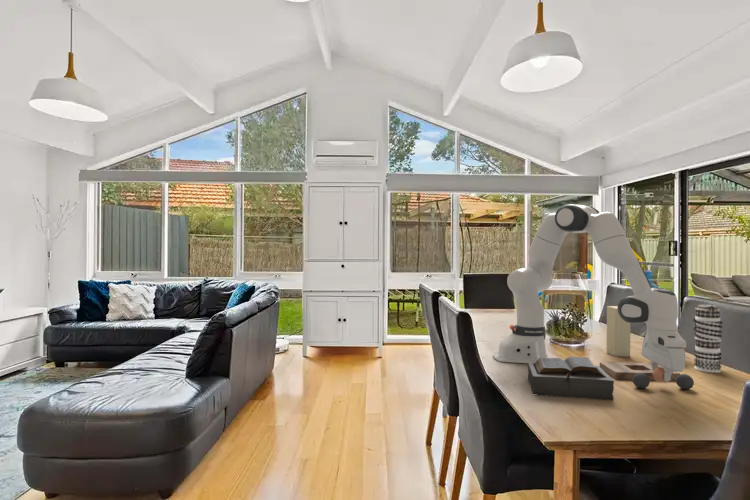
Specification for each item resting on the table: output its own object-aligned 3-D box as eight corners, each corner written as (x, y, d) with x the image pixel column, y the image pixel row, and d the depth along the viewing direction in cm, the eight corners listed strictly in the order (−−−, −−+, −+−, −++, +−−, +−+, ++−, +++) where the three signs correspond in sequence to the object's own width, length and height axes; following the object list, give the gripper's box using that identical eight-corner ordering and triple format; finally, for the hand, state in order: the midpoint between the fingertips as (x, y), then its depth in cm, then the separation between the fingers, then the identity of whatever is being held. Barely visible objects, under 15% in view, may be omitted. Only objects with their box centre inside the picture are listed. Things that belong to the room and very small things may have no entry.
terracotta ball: (657, 384, 149) (657, 369, 149) (649, 379, 154) (649, 365, 154) (673, 384, 149) (673, 369, 149) (665, 380, 154) (665, 365, 154)
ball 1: (636, 390, 149) (636, 375, 149) (629, 385, 154) (629, 371, 154) (652, 390, 149) (652, 375, 149) (644, 385, 154) (644, 371, 154)
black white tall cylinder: (713, 374, 168) (713, 307, 168) (687, 367, 177) (687, 304, 176) (728, 371, 172) (728, 306, 172) (702, 365, 180) (702, 303, 180)
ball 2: (681, 391, 148) (681, 376, 148) (672, 386, 153) (672, 371, 153) (697, 391, 148) (697, 376, 148) (688, 386, 153) (688, 372, 153)
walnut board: (615, 379, 162) (615, 372, 162) (599, 368, 176) (599, 362, 176) (679, 380, 160) (679, 373, 160) (658, 369, 174) (658, 363, 174)
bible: (615, 406, 135) (614, 374, 135) (521, 394, 147) (521, 364, 146) (610, 385, 156) (610, 356, 156) (529, 375, 168) (529, 349, 168)
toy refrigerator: (632, 356, 195) (632, 308, 195) (615, 356, 195) (615, 308, 195) (622, 352, 203) (622, 306, 203) (606, 352, 203) (606, 306, 203)
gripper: (637, 330, 162) (636, 368, 162) (668, 343, 141) (667, 386, 142) (655, 330, 161) (654, 369, 161) (689, 343, 141) (689, 387, 141)
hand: (661, 377), depth 151 cm, fingers closed on terracotta ball, 5 cm apart
